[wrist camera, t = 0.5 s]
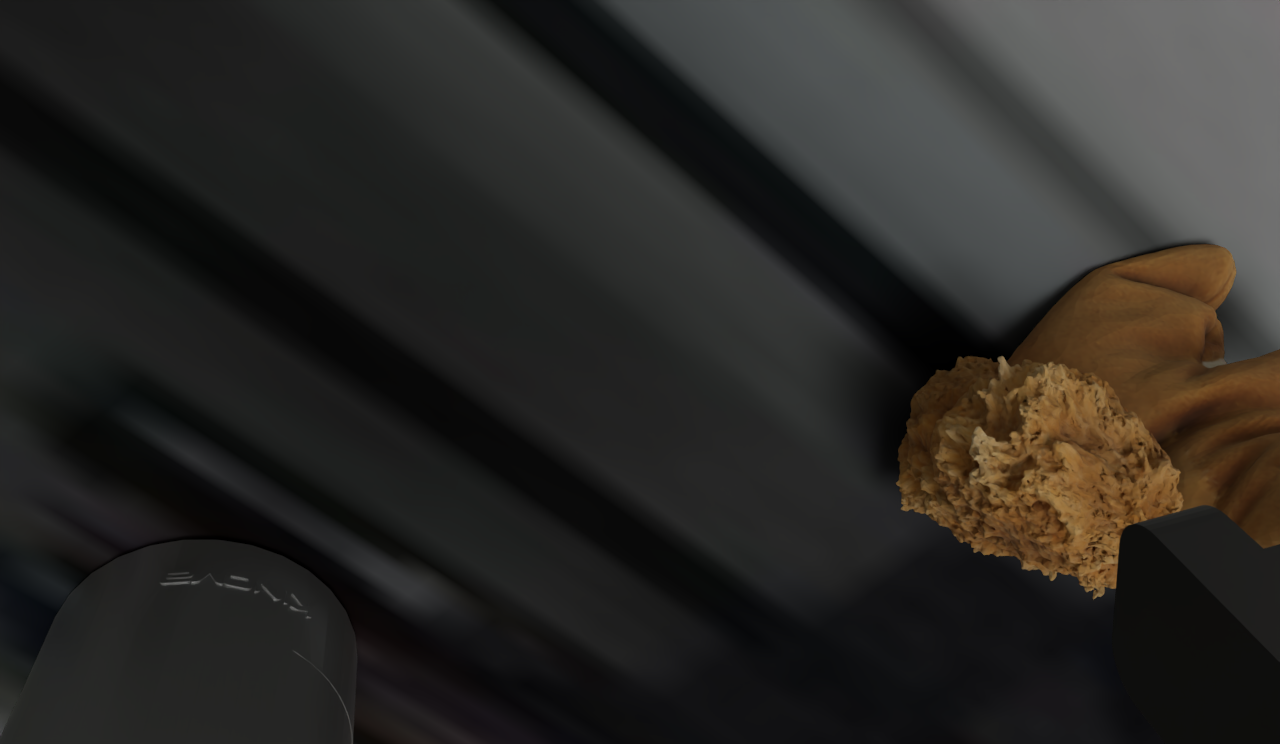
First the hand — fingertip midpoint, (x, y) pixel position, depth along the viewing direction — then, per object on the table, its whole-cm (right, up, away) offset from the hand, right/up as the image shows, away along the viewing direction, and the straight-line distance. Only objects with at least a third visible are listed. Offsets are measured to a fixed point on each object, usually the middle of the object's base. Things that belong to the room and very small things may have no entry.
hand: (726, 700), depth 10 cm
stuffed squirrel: (+13, +3, +26) cm, 29 cm away
